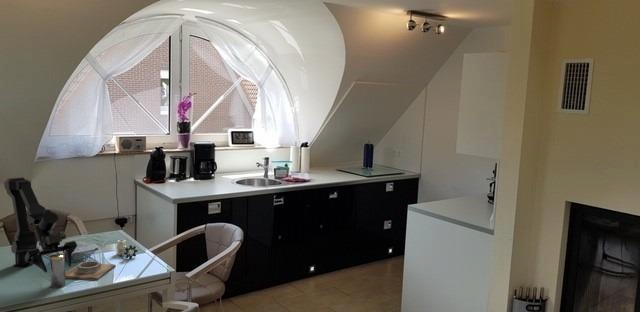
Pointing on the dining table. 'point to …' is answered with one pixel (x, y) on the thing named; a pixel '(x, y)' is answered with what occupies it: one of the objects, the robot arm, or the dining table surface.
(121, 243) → the valve
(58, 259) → the gray can
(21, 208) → the robot arm
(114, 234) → the dining table surface
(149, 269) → the dining table surface
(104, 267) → the flange board
